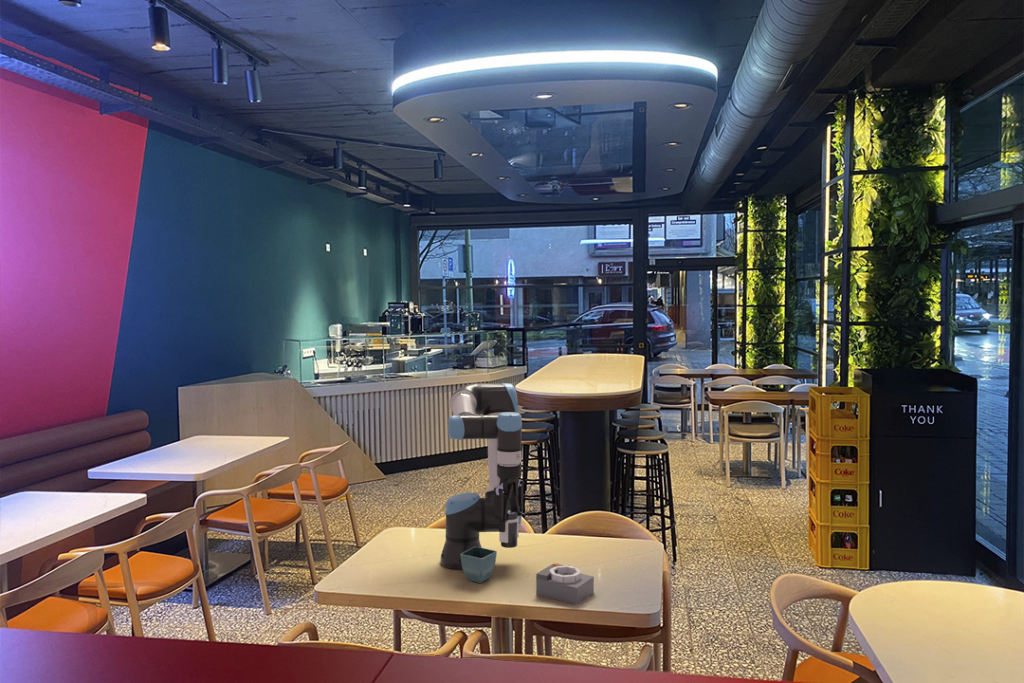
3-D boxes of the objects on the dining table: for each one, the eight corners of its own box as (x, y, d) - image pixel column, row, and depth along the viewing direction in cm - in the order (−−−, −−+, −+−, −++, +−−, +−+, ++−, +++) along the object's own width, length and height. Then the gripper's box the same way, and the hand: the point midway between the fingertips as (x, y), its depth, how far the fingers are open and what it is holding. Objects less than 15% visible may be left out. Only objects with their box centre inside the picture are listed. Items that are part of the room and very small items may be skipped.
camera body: (536, 594, 217) (536, 570, 217) (554, 583, 227) (554, 560, 226) (576, 604, 210) (577, 580, 209) (593, 592, 219) (593, 569, 219)
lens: (497, 545, 216) (497, 512, 216) (506, 541, 221) (506, 508, 220) (511, 549, 214) (511, 515, 213) (520, 544, 218) (520, 511, 217)
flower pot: (482, 586, 224) (482, 558, 223) (459, 581, 228) (459, 553, 228) (497, 578, 231) (497, 550, 231) (475, 572, 236) (475, 546, 235)
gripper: (502, 471, 206) (502, 550, 207) (535, 459, 222) (534, 533, 223) (481, 467, 210) (481, 545, 211) (515, 457, 226) (514, 529, 227)
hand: (509, 539), depth 217 cm, fingers closed on lens, 5 cm apart
